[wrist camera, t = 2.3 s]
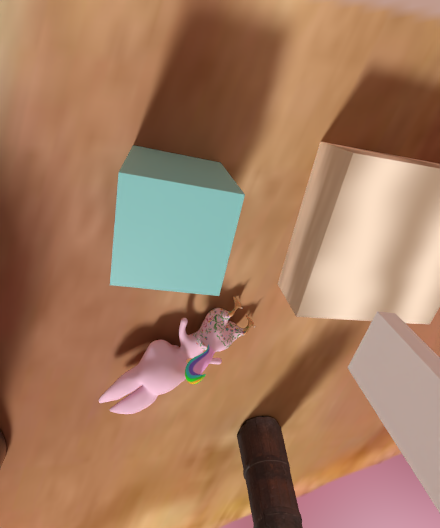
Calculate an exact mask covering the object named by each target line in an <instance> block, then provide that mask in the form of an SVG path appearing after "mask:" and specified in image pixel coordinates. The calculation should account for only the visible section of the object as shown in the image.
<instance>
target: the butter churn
mask: <svg viewBox="0 0 440 528" xmlns="http://www.w3.org/2000/svg"><path fill="white" fill-rule="evenodd" d="M237 439H238V444H239V448H240V454H241V459H242V464H243V469H244V470H243V472H244V473H243V475H244V478H245V480H246V484H247V488H248V494H249V501H250V507H251V513H252V517H253V522H254V528H302V519H301V514H300V512H299V509H298V504H297V500H296V496H295V491H294V487H293V483H292V479H291V474H290V467H289V462H288V458H287V453H286V449H285V444H284V439H283V435H282V431H281V427H280V426H279V424H278V423H277V421H276V420H275V419H274V418H271V417H268V416H267V417H263V416H262V417H256V418H252V419H249V420H247V421H246V424H244V425H243V426H242V427H241V428H240V431H239V433H238V434H237Z"/></svg>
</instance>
